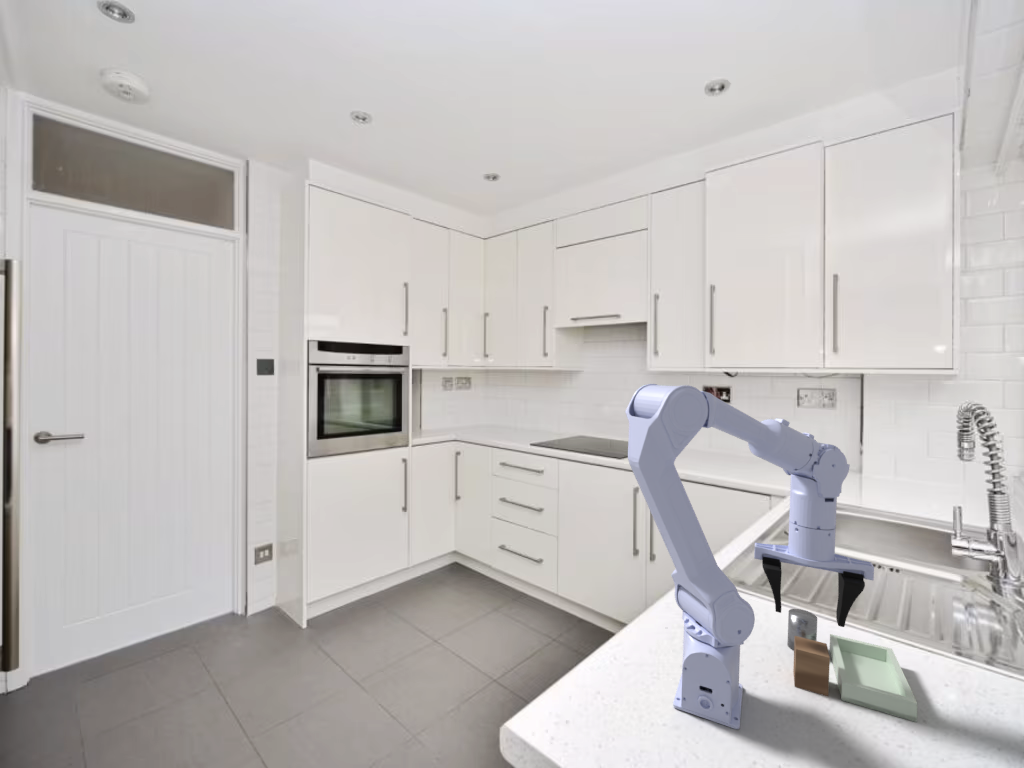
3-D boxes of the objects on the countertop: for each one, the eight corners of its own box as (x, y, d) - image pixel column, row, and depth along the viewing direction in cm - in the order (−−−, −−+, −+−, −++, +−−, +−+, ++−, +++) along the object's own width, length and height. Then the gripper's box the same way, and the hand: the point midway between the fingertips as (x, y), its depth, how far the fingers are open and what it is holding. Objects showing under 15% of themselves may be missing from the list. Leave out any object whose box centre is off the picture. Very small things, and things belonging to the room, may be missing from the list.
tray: (916, 722, 60) (917, 703, 60) (841, 700, 64) (842, 682, 64) (891, 664, 72) (891, 648, 72) (829, 649, 76) (830, 633, 76)
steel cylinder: (817, 658, 74) (818, 623, 74) (787, 650, 76) (789, 616, 76) (814, 645, 77) (816, 612, 77) (787, 638, 79) (788, 606, 79)
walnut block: (828, 696, 65) (829, 657, 65) (794, 687, 67) (796, 649, 67) (825, 680, 68) (826, 643, 68) (793, 671, 70) (794, 635, 70)
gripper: (868, 525, 68) (864, 617, 68) (755, 509, 75) (753, 593, 75) (878, 539, 62) (874, 640, 62) (755, 520, 69) (752, 612, 69)
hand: (808, 616), depth 68 cm, fingers open, 7 cm apart
